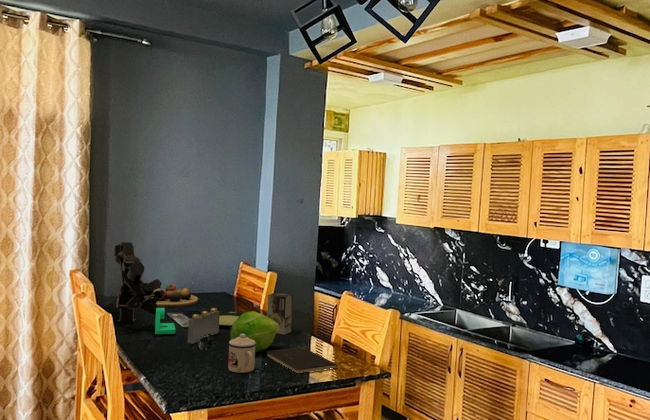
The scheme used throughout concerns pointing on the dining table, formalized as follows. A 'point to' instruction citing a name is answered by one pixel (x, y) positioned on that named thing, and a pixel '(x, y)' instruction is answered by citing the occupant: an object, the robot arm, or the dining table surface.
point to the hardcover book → (300, 360)
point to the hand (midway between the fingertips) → (158, 315)
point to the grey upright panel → (203, 325)
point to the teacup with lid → (241, 354)
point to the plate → (228, 318)
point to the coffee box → (280, 311)
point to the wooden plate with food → (176, 297)
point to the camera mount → (163, 327)
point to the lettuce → (255, 329)
